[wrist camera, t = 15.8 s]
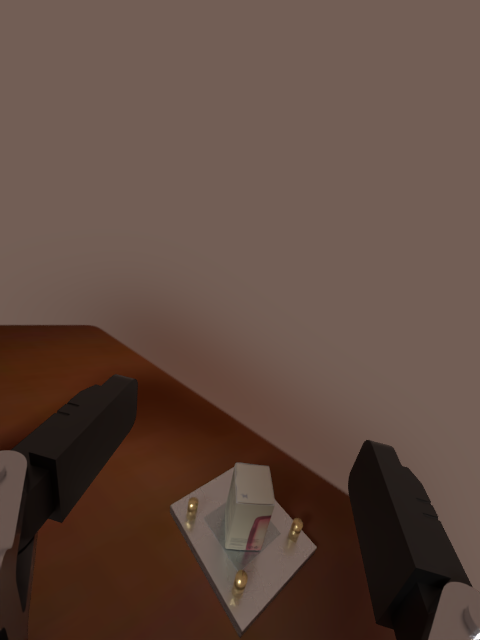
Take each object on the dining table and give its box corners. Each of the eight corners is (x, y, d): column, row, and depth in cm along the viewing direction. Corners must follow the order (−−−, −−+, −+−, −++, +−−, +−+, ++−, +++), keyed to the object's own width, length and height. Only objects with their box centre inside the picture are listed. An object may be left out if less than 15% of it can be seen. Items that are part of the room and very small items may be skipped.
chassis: (169, 511, 36) (172, 491, 34) (240, 467, 43) (244, 450, 42) (240, 637, 26) (247, 617, 25) (314, 553, 34) (322, 534, 33)
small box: (261, 552, 32) (276, 506, 29) (224, 549, 32) (235, 503, 29) (257, 508, 37) (270, 464, 34) (224, 505, 36) (234, 461, 33)
